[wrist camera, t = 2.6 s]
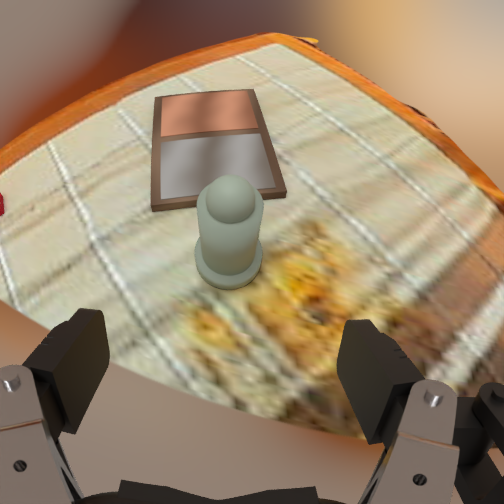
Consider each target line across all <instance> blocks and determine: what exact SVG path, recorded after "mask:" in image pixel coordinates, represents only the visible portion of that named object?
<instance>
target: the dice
mask: <svg viewBox="0 0 504 504" xmlns="http://www.w3.org/2000/svg"><path fill="white" fill-rule="evenodd" d="M2 214H4V204H3V196H2V195H1V193H0V216H1V215H2Z"/></svg>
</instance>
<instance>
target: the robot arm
mask: <svg viewBox="0 0 504 504" xmlns="http://www.w3.org/2000/svg"><path fill="white" fill-rule="evenodd" d="M109 359H110V351H109V345H108V339H107V333H106V327H105V320H104V315H103V313H102V311H101V310H94V309H84V308H80V309H78V310H77V312H76V313H75V314H74V315H73V316H72V317H71V318H70V320H69V321H64V322H63V323H61V324H59V325H57V326H56V327H54V328H53V329H52V330H51V332H50V333H49V334H48V335H47V337H45V338H44V340H43V341H42V342H41V344H39V345H38V346H37V348H36V349H35V350H34V351H33V352H32V354H31V355H30V356H29V357H28V358H27V359H26V361H25V362H24V363H23V364H22V365H9V366H5V367H2V368H0V504H345V503H341V502H338V501H334V500H328V499H320V498H318V496H317V491H316V488H315V486H314V487H304V488H292V489H278V490H266V491H262V492H258V493H253V494H249V495H244V496H239V497H234V498H229V499H223V500H214V499H209V498H205V497H201V496H197V495H194V494H190V493H187V492H183V491H180V490H177V489H173V488H170V487H167V486H158V485H151V484H143V483H138V482H132V481H126V480H121V483H120V487H119V491H118V492H107V493H100V494H96V495H91V496H88V497H84V495H83V493H82V491H81V489H80V487H79V485H78V483H77V481H76V479H75V477H74V474H73V472H72V470H71V467H70V465H69V463H68V460H67V458H66V455H65V453H64V450H63V447H62V445H61V442H60V440H59V438H58V437H59V436H60V433H61V431H63V432H67V433H71V434H76V432H77V430H78V427H79V425H80V423H81V421H82V419H83V417H84V415H85V413H86V411H87V408H88V406H89V404H90V402H91V400H92V398H93V396H94V394H95V392H96V390H97V388H98V386H99V384H100V382H101V380H102V378H103V376H104V374H105V372H106V370H107V368H108V365H109ZM337 374H338V377H339V379H340V381H341V384H342V386H343V388H344V390H345V392H346V395H347V397H348V399H349V401H350V403H351V406H352V408H353V410H354V412H355V415H356V417H357V419H358V421H359V424H360V426H361V428H362V430H363V433H364V435H365V437H366V439H367V442H368V444H369V445H371V444H377V443H382V442H383V444H384V446H385V448H384V450H383V452H382V454H381V456H380V458H379V461H378V463H377V465H376V467H375V470H374V472H373V474H372V477H371V479H370V480H369V483H368V485H367V487H366V489H365V491H364V493H363V495H362V497H361V499H360V500H359V502H358V504H450V500H451V496H452V491H453V486H454V485H455V487H456V489H457V491H458V493H459V495H460V497H461V499H462V501H463V503H464V504H504V476H503V477H502V476H501V474H500V472H499V471H498V469H497V468H496V466H495V464H494V463H493V461H492V460H491V458H490V456H489V455H488V453H487V452H488V451H489V449H490V448H491V446H492V445H493V443H494V442H495V444H496V445H497V447H498V448H499V450H500V451H501V452H502V454H503V456H504V385H502V384H499V383H486V384H484V385H482V386H481V388H480V390H479V392H478V394H477V396H476V397H457V396H456V394H455V392H454V391H453V389H452V388H451V387H449V386H448V385H446V384H444V383H442V382H440V381H436V380H426V379H425V378H424V377H423V375H422V374H421V373H420V372H419V370H418V369H417V368H416V366H415V365H414V364H413V363H412V361H411V360H410V359H409V358H407V355H406V354H405V353H404V351H402V350H401V348H400V346H399V345H398V344H397V343H396V341H395V340H393V339H392V338H390V337H389V336H387V335H386V334H384V333H380V332H379V331H378V329H377V328H376V327H375V326H374V324H373V323H372V322H371V321H370V320H369V319H364V320H347V321H346V323H345V326H344V330H343V335H342V340H341V344H340V349H339V353H338V358H337Z"/></svg>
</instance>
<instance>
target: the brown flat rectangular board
mask: <svg viewBox="0 0 504 504" xmlns="http://www.w3.org/2000/svg"><path fill="white" fill-rule="evenodd" d="M230 174H231V175H238V176H240V177H243V178H244V179H246V180H247V181H248V182H249V183H250V184H251V185H252V186H253V187H255V188H256V189H257V190H258V191H259V193H260V194H261V196H262V199H263V200H264V199H275V198H285V197H286V193H287V190H286V187H285V183H284V180H283V177H282V174H281V170H280V167H279V164H278V161H277V158H276V155H275V151H274V148H273V145H272V142H271V139H270V136H269V133H268V130H267V127H266V124H265V121H264V118H263V115H262V112H261V109H260V106H259V103H258V100H257V97H256V95H255V92H254V89H242V90H222V91H208V92H196V93H186V94H176V95H168V96H160V97H155V103H154V117H153V134H152V157H151V208H152V212H155V211H162V210H170V209H178V208H187V207H195V206H197V200H198V197H199V195H200V193H201V191H202V190H203V189H204V188H205V187H206V186H208V185H209V184H211V183H212V182H213V181H214V180H216V179H217V178H219V177H221V176H224V175H230Z"/></svg>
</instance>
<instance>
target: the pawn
mask: <svg viewBox="0 0 504 504" xmlns="http://www.w3.org/2000/svg"><path fill="white" fill-rule="evenodd" d="M263 209H264V203H263V199H262V196H261V194H260V193H259V191H258V190H257V189H256V188H255V187H253V186H252V185H251V184H250V183H249V182H248V181H247V180H246V179H244V178H243V177H240V176H238V175H231V174H230V175H224V176H221V177H219V178H217V179H216V180H214V181H213V182H212V183H211V184H209V185H208V186H206V187H205V188H204V189H203V190H202V191H201V193H200V195H199V197H198V200H197V215H198V224H199V233H200V237H199V239H198V241H197V243H196V246H195V260H196V266H197V269H198V272H199V274H200V275H201V277H202V278H203V279H204V280H205V281H206V282H207V283H208V284H210V285H212V286H214V287H216V288H219V289H224V290H233V289H238V288H241V287H243V286H245V285H247V284H249V283H250V282H251V281H252V280H253V279H254V278H255V277H256V275H257V273H258V271H259V268H260V265H261V260H262V246H261V243H260V241H259V239H258V236H259V231H260V225H261V220H262V215H263Z"/></svg>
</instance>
